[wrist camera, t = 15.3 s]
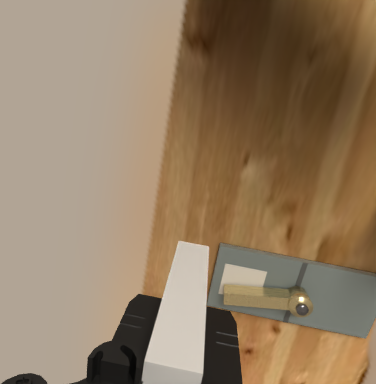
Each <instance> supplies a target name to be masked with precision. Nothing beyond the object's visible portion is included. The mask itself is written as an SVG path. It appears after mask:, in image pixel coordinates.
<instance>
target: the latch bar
mask: <svg viewBox="0 0 376 384" xmlns="http://www.w3.org/2000/svg"><path fill="white" fill-rule="evenodd" d="M223 303H224V305H234V306H245V307H257V308H269V309H281V310H290V312H291V313H292V314H293V315H294V316H296V317H306V316H308V315H310V314H311V313H312V311H313V304H312V302H311V300H310V298H309V296H308V294H307V292H306V290H305V289H304V288H302V287H299V286H293V287H290V288H289V289H280V288H268V287H255V286H242V285H229V284H224V290H223Z"/></svg>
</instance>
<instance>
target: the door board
mask: <svg viewBox="0 0 376 384" xmlns="http://www.w3.org/2000/svg"><path fill="white" fill-rule="evenodd" d="M224 284H229V285H242V286H255V287H268V288H280V289H289V288H290V287H293V286H299V287H302V288H304V289H305V290H306V292H307V294H308V296H309V298H310V300H311V302H312V304H313V311H312V313H311V314H310V315H308V316H306V317H296V316H294V315H293V314H292V313H291V312H290V310H281V309H269V308H257V307H245V306H234V305H224V303H223V290H224ZM207 306H212V307H217V308H222V309H226V310H231V311H236V312H241V313H246V314H250V315H255V316H260V317H265V318H270V319H274V320H279V321H283V322H287V323H288V322H289V323H294V324H298V325H303V326H308V327H313V328H318V329H322V330H327V331H332V332H337V333H342V334H346V335H351V336H356V337H361V338H366V337H367V335H368V333H369V331H370V329H371V327H372V324H373V322H374V320H375V318H376V273H372V272H367V271H362V270H357V269H352V268H346V267H341V266H336V265H331V264H326V263H321V262H316V261H311V260H306V259H301V258H296V257H291V256H286V255H280V254H275V253H270V252H265V251H260V250H255V249H250V248H245V247H240V246H235V245H230V244H225V243H220V245H219V250H218V254H217V259H216V263H215V268H214V272H213V276H212V281H211V285H210V290H209V294H208V298H207Z"/></svg>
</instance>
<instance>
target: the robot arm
mask: <svg viewBox="0 0 376 384" xmlns="http://www.w3.org/2000/svg"><path fill="white" fill-rule="evenodd" d="M208 260H209V246H204V245H199V244H194V243H188V242H183V241H179V242H178V245H177V249H176V252H175V256H174V259H173V263H172V266H171V270H170V273H169V277H168V280H167V284H166V287H165V291H164V294H163V298H157V297H152V296H147V295H142V294H138V295H137V296H136V297H135V298H134V299H132V300H131V301H130V302H129V304H128V306H127V308H126V311H125V313H124V315H123V317H122V319H121V321H120V325H119V326H118V328H117V330H116V332H115V335H114V337H113V339H112V341H109V342H105V343H103V344H101V345H100V346H98V347H96V348H95V349H94V350H93V351H92V353H91V354H90V355H89V357H88V364H87V378H86V379H83V380H81V381H79V382H75V383H71V384H242V374H241V364H240V354H239V348H238V346H239V344H238V338H237V336H238V334H237V324H236V321H235V320H234V318H233V316H232V314H231V312H230V311H226V310H221V309H216V308H211V307H206V302H207V281H208ZM2 384H47V382H46V381H45V380H44V379H43V378H42V377H41V376H40V375H36V374H32V373H28V374H20V375H17V376H14V377H12V378H10V379H7V380H6V381H4V382H3V383H2Z"/></svg>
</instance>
